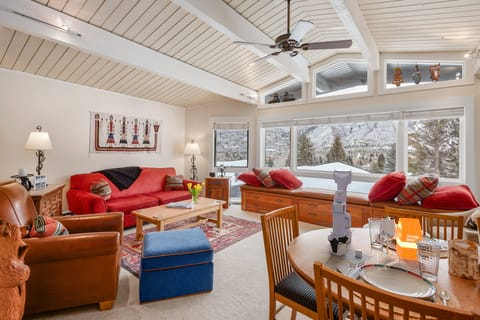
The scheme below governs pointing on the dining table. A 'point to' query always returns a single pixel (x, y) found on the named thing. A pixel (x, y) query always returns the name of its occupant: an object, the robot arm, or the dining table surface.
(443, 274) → the dining table surface
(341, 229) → the robot arm
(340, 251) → the white piece
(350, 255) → the shaft base
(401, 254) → the orange juice
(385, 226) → the wineglass
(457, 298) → the dining table surface
